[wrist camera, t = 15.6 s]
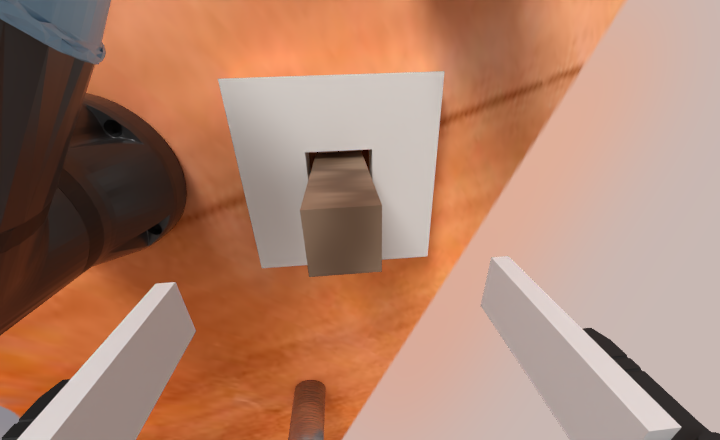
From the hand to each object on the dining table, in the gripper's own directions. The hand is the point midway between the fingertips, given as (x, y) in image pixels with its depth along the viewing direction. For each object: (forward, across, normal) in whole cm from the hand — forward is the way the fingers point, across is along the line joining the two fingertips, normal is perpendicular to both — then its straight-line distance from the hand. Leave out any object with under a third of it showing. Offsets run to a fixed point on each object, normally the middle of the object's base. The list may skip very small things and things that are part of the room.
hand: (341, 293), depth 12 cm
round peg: (+18, -7, -35) cm, 40 cm away
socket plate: (+18, 0, 0) cm, 19 cm away
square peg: (+18, 0, 0) cm, 19 cm away
